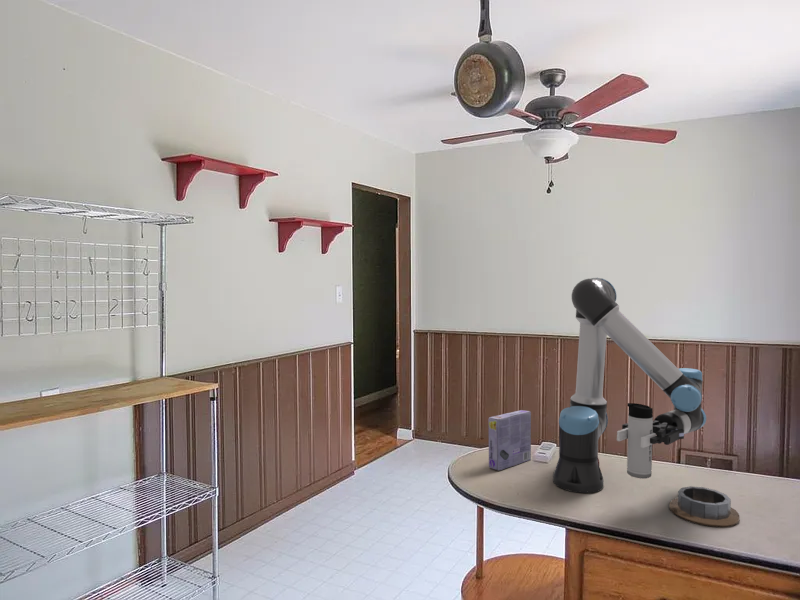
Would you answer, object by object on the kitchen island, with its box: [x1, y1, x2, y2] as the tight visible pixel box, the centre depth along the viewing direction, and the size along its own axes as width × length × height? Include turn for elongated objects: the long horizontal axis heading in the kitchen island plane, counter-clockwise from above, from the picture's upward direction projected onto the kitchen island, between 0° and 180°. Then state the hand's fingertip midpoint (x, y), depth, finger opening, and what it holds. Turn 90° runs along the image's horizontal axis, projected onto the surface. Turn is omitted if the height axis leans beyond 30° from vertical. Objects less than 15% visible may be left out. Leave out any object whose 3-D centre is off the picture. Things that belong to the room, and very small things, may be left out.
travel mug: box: [626, 402, 654, 480], centre depth 155 cm, size 6×7×20 cm
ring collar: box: [668, 485, 740, 528], centre depth 154 cm, size 17×17×5 cm
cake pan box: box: [488, 409, 532, 472], centre depth 193 cm, size 19×5×18 cm, turn 130°
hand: (630, 439), depth 151 cm, fingers closed on travel mug, 6 cm apart
